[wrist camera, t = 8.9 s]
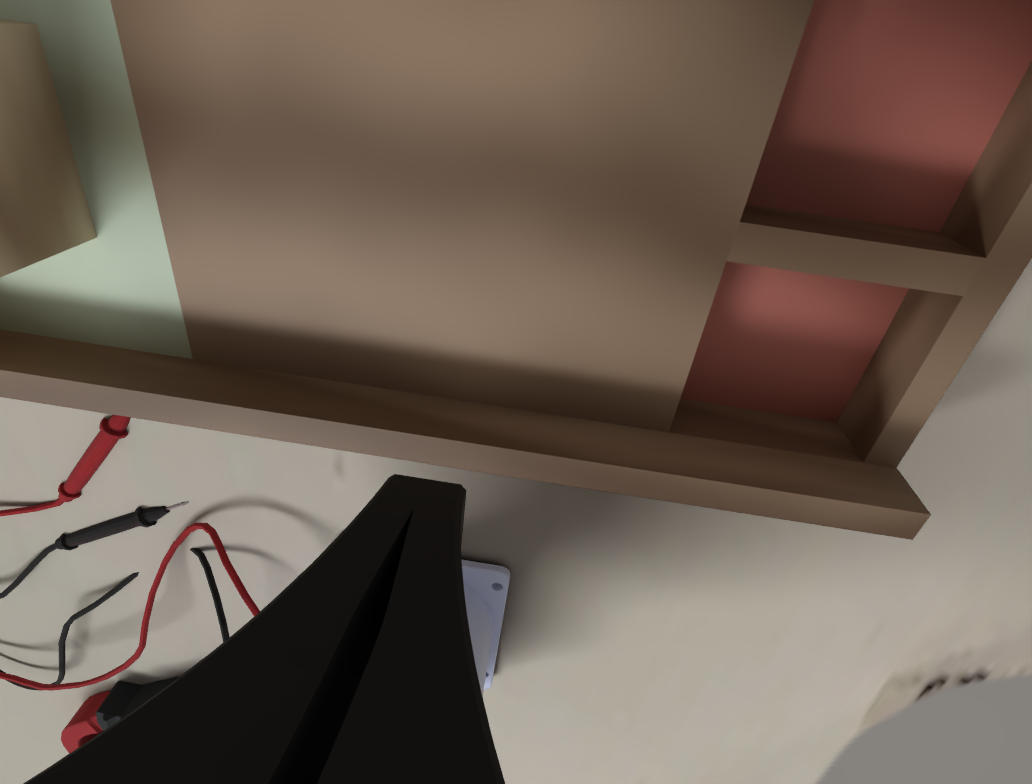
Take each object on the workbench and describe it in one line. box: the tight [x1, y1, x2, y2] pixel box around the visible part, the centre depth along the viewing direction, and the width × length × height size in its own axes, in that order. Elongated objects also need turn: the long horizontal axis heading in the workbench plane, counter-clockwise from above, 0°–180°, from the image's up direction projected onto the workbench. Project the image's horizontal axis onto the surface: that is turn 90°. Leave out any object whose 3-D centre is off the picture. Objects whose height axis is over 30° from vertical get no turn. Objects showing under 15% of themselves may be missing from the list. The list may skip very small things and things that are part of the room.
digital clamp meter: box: [0, 415, 260, 754], centre depth 29 cm, size 23×4×25 cm
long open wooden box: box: [0, 0, 1032, 540], centre depth 14 cm, size 14×30×4 cm, turn 83°
